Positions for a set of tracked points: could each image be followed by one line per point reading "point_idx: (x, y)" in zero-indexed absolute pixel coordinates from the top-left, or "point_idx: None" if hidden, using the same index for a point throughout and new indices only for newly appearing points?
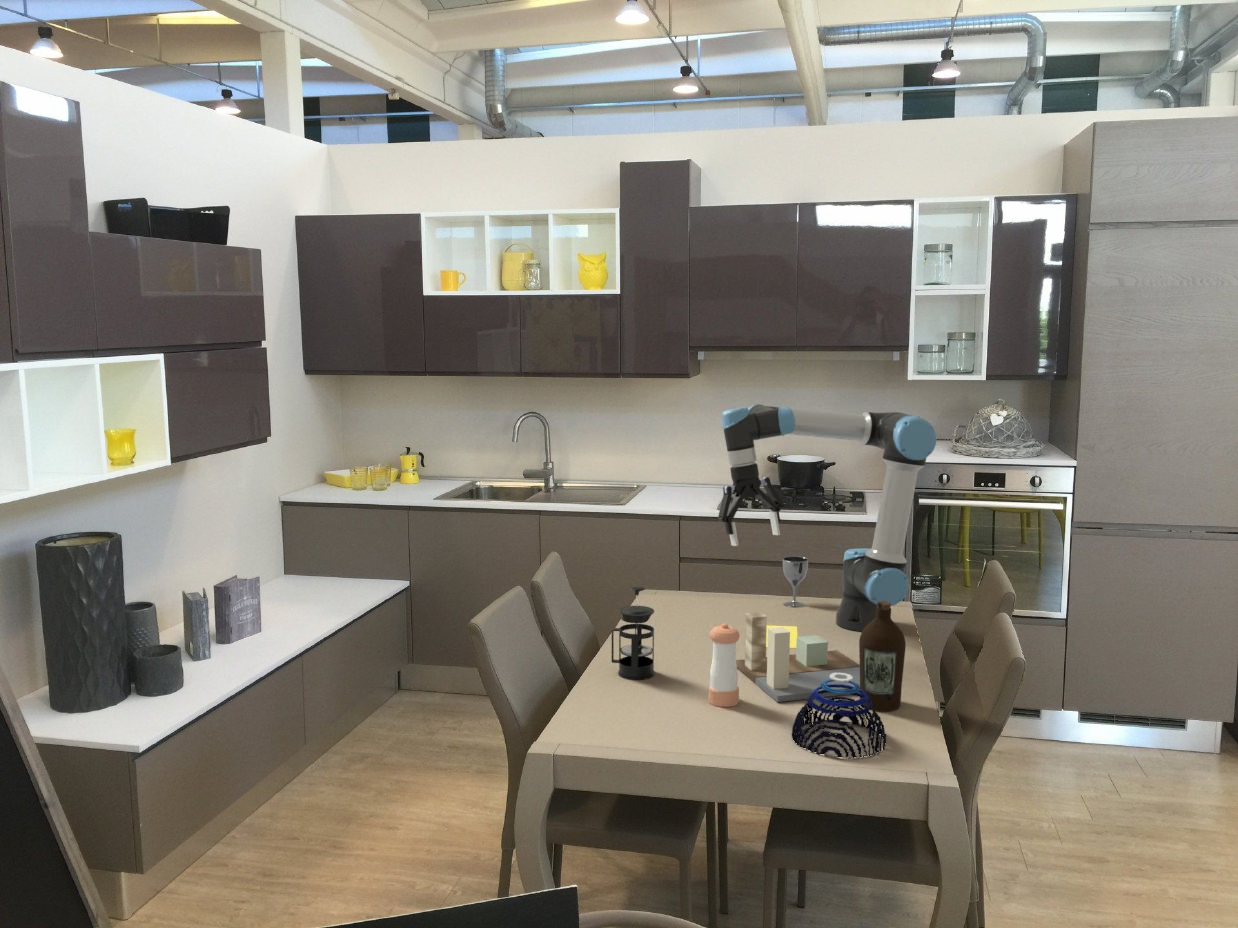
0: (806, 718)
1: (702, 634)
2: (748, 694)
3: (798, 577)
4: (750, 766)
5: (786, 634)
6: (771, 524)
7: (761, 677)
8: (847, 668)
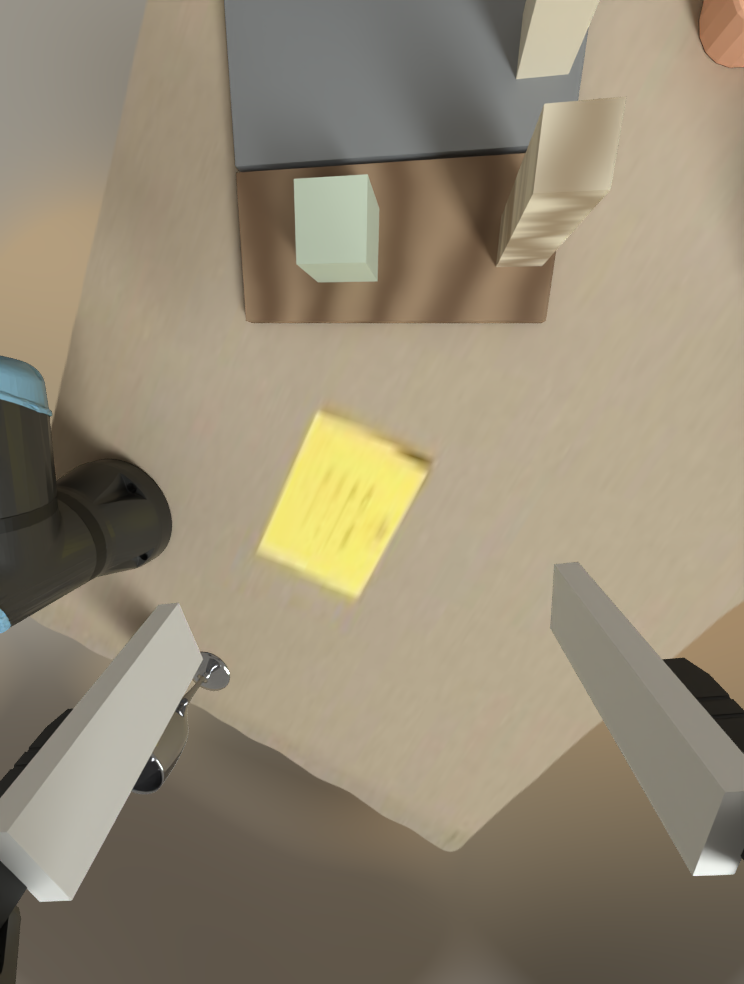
0: None
1: (491, 575)
2: (636, 59)
3: None
4: None
5: None
6: (158, 732)
7: None
8: (279, 159)
